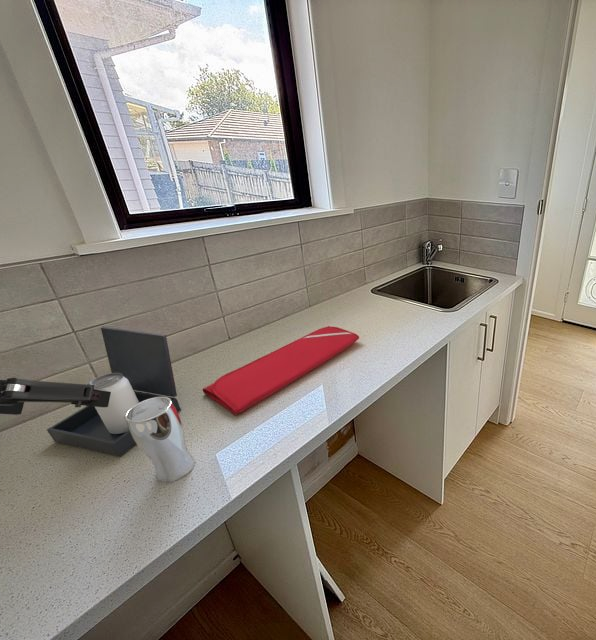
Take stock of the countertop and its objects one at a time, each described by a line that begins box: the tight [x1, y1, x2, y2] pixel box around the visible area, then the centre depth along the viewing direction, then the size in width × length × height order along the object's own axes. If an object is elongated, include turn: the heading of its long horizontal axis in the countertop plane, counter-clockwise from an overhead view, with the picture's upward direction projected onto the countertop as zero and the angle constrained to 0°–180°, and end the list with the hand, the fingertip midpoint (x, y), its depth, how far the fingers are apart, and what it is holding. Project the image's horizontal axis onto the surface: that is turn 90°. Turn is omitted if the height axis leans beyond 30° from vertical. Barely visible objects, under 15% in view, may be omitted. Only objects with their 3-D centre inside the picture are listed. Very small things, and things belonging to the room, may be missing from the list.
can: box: [88, 372, 139, 434], centre depth 71 cm, size 6×6×12 cm
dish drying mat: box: [202, 325, 360, 416], centre depth 95 cm, size 16×41×4 cm, turn 146°
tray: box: [46, 390, 182, 458], centre depth 74 cm, size 14×17×4 cm
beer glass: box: [125, 396, 196, 483], centre depth 61 cm, size 7×7×15 cm
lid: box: [100, 326, 178, 398], centre depth 77 cm, size 15×17×1 cm
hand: (64, 403), depth 60 cm, fingers open, 13 cm apart
